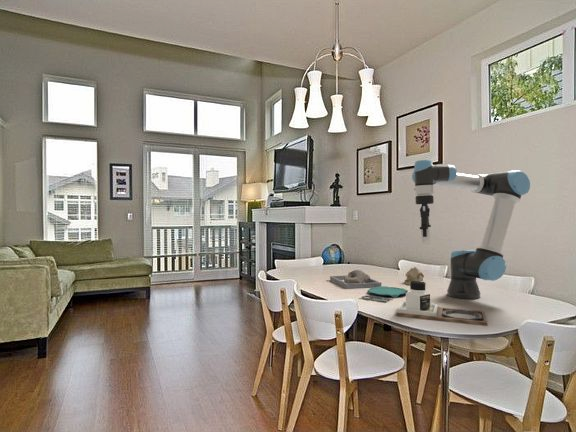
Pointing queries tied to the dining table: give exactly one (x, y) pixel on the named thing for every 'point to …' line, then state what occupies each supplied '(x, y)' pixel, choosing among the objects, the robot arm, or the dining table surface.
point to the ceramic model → (414, 275)
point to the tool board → (436, 314)
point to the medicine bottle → (417, 297)
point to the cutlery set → (384, 293)
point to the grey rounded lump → (356, 277)
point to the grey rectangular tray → (358, 285)
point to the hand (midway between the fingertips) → (425, 243)
